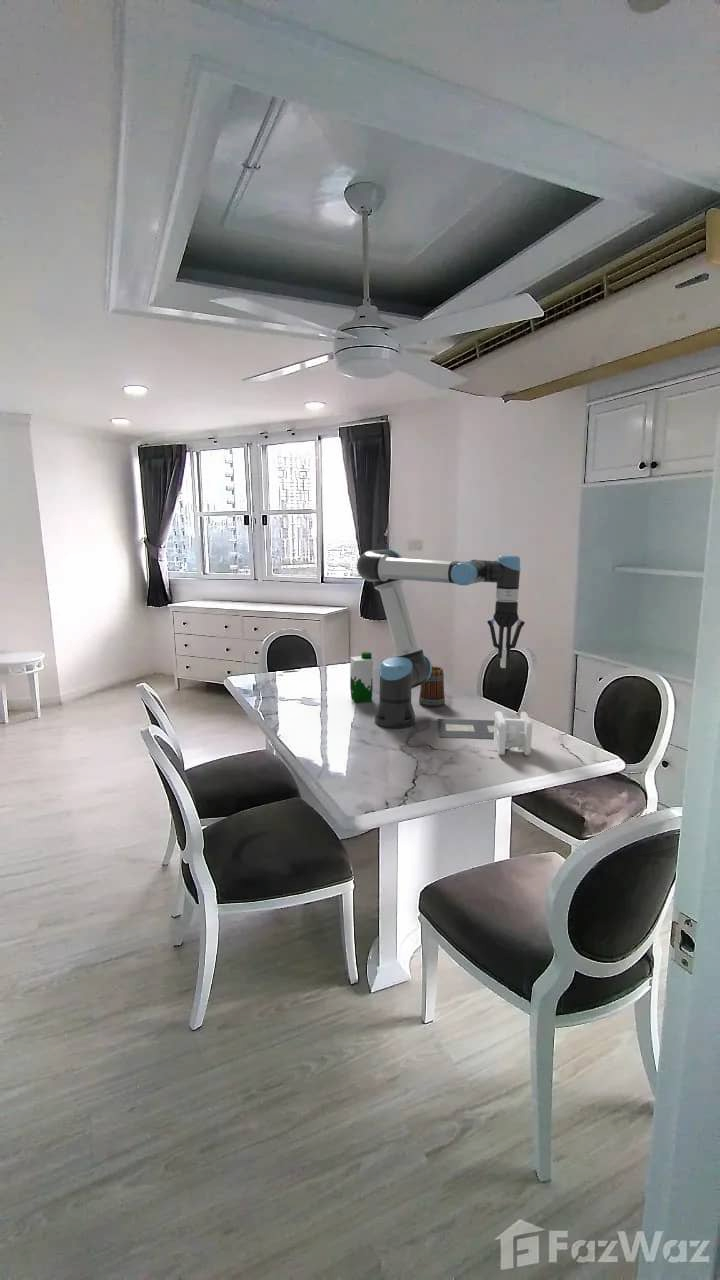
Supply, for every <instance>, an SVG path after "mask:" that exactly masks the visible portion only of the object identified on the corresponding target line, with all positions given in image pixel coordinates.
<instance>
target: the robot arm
mask: <svg viewBox="0 0 720 1280" xmlns="http://www.w3.org/2000/svg"><path fill="white" fill-rule="evenodd" d="M356 570H357V573H358V575H359V576H360V578H362V579H363V580H365V581H366V582H369V583H370V582H372V584H373V587H374V589H375V590H377V591H379V594H380V598H381V602H382V606H383V609H384V612H385V613H384V614H385V617H386V620H387V624H388V628H389V630H390V635H391V639H392V643H393V646H394V650H395V652H394V654H393V655H392V656H393V657H389V658H385V659H384V660H383V661H382V662H381V663H380V666H379V702H378V705H377V708H376V710H375V714H374V722H375V724H376V725H377V726H380V727H383V728H390V729H402V728H403V729H404V728H409V727H412V726H414V725H415V724H416V720H417V719H416V714H415V710H414V707H413V703H412V689H414V688H416V687H419V686H421V685H422V684H423V683H425V682H426V681H427V680H428V679H429V678H430V676H431V673H432V665H433V664H432V662H431V660H430V658H428V656H427V655H425V654H424V651H423V648H422V647H420V646H419V645H418V643H417V640H416V639H417V638H416V635H415V632H414V629H413V625H412V621H411V618H410V614H409V610H408V607H407V603H406V599H405V596H404V591H403V587H402V584H403V583H404V581H414V582H426V583H428V582H429V583H443V584H454V585H457V586H469V585H471V584H472V585H473V584H477V583H494V584H495V583H496V589H495V590H496V592H495V599H496V601H495V608H494V614H493V615H492V616H493V617H491V618H489V619H487V620H486V623H487V624H488V626H489V629H490V630H489V631H490V637H491V640H492V645H493V647H494V648H495V649H497V657H498V658H499V659H500V664H499V665H500V668H501V669H506V667H507V659H509V658H510V652H511V649H514V648H516V646H517V643H518V640H519V636H520V633H521V630H522V628H523V626H524V625H525V624H526V623H525V621H524V620H521V618H519V615H518V609H519V608H518V607H519V602H518V600H519V594H520V593H519V590H520V589H519V588H520V575H521V559H520V557H519V556H518V555H509V554H508V555H506V554H504V555H503V554H502V555H501V554H500V555H498V558H497V559H496V560H485V559H484V560H483V559H482V560H481V559H468V560H465V561H459V560H458V561H455V560H453V561H452V560H437V559H435V560H434V559H423V558H422V559H420V558H403V557H402V555H401V554H400V553H399V552H397V551H396V550H393V549H388V548H387V549H386V548H384V549H376V550H375V549H373V550H367V551H365V552H363V553H362V554H361V555H360V556H359V558H358V560H357V563H356ZM495 623H496V624H497V626H498V640H497V636H496V630H495V626H494V625H495ZM515 624H516V628H515V630H514V634H513V636H512V627H513V626H514V625H515ZM505 628H506V633H505V634H506V636H505V647H503V645H504V631H505ZM512 637H513V638H512ZM497 641H498V642H497Z"/></svg>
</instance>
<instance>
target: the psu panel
mask: <svg viewBox="0 0 720 1280" xmlns="http://www.w3.org/2000/svg"><path fill="white" fill-rule="evenodd" d="M437 722H438V723H437V724H438V732H439V733H438V734H439V738H449V739H450V738H452V739H480V740H482V739H483V740H484V739H485V740H494V725H495V719H493V720H489V719H488V720H487V719H463V718H462V719H461V718H460V719H458V718H457V719H456V718H437Z"/></svg>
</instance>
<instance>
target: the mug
mask: <svg viewBox="0 0 720 1280" xmlns="http://www.w3.org/2000/svg"><path fill="white" fill-rule="evenodd" d="M444 680H445V674H444V669H443V668H442V667H440V666H434V665H433V664H432V673H431V676H430V678H429V679H428V680H427V681H426V682H425V683H423V684H422V685H420V690H419V691H420V692H419V697H418V701H419V705H420V706H422V707H425V708H432V709H433V708H441V707H443V706H444V705H445V702H446V697H445V683H444V682H445V681H444Z"/></svg>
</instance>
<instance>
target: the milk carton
mask: <svg viewBox="0 0 720 1280" xmlns="http://www.w3.org/2000/svg"><path fill="white" fill-rule="evenodd" d="M349 666H350V668H349V669H350V670H349V671H350V672H349V674H350V676H349V678H350V679H349V682H350V683H349V685H350V686H349V689H350V697H351V698H350V699H351V700H352V701H353V702H354V703H355V704H359V703H360V704H363V703H372V702H373V686H374V685H373V683H374V682H373V681H374V680H373V677H374V675H373V672H374V670H373V669H374V667H373V666H374V659H373V658H372V652H369V651H368V652H367V651H364V652H361V655H360V656H359V655H357V656H350V665H349Z"/></svg>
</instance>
